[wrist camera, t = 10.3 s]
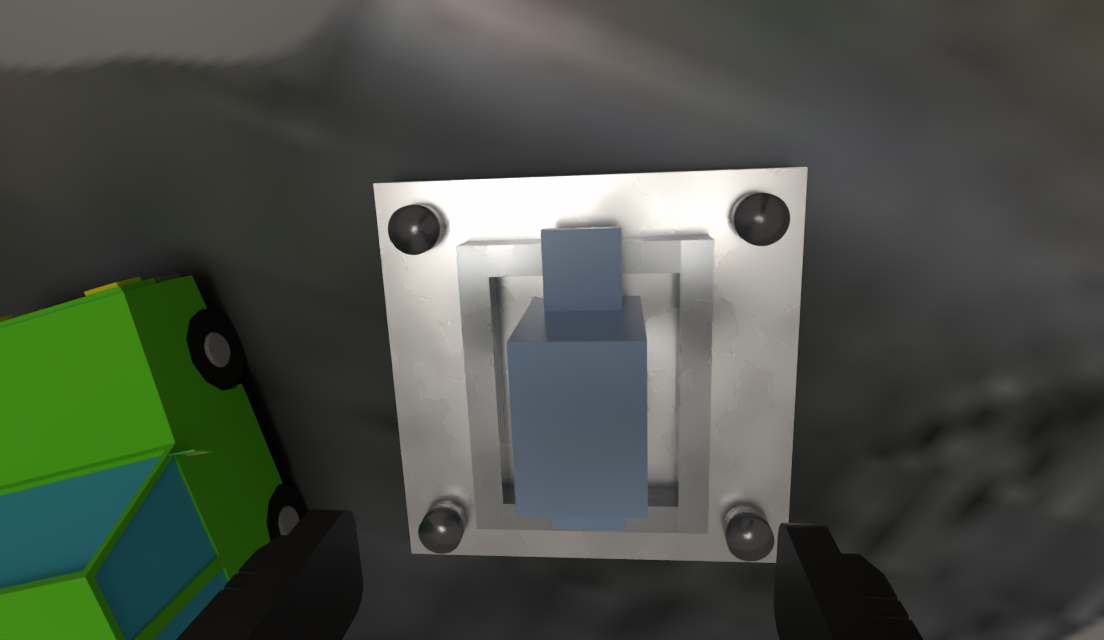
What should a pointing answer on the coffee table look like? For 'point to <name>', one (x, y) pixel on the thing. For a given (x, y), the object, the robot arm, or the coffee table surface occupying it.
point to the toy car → (127, 465)
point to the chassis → (672, 352)
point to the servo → (580, 388)
